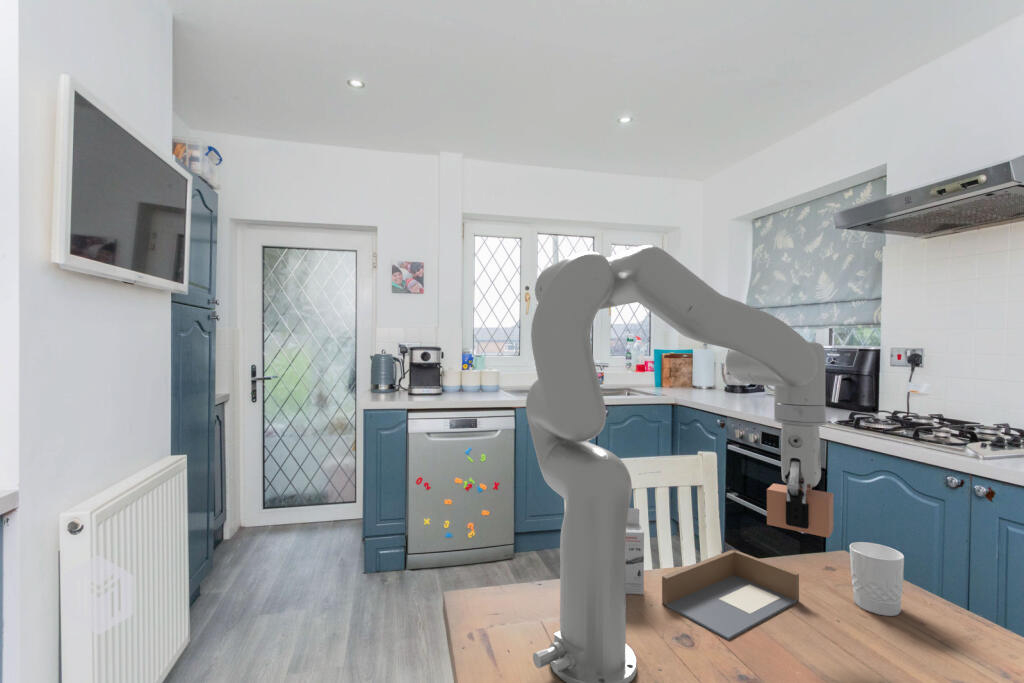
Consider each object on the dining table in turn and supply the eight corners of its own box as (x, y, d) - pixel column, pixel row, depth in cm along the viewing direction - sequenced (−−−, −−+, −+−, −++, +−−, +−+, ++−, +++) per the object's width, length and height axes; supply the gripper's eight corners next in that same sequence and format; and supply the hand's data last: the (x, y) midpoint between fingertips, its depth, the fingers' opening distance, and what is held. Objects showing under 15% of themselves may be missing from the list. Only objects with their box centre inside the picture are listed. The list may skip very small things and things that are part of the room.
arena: (728, 640, 77) (728, 608, 77) (662, 604, 88) (662, 576, 88) (799, 601, 89) (798, 573, 89) (733, 573, 100) (733, 549, 100)
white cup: (915, 613, 85) (914, 555, 85) (886, 622, 82) (885, 563, 82) (867, 592, 92) (867, 539, 93) (839, 599, 89) (839, 545, 90)
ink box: (598, 593, 92) (598, 514, 92) (596, 580, 97) (596, 506, 97) (644, 595, 91) (644, 516, 91) (640, 582, 96) (640, 507, 96)
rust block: (829, 537, 77) (829, 500, 77) (766, 524, 83) (766, 489, 83) (833, 529, 81) (833, 493, 81) (773, 516, 87) (773, 483, 87)
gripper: (820, 422, 73) (820, 542, 73) (830, 411, 87) (830, 513, 87) (765, 417, 78) (765, 531, 78) (782, 408, 91) (782, 504, 91)
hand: (799, 520), depth 82 cm, fingers closed on rust block, 5 cm apart
